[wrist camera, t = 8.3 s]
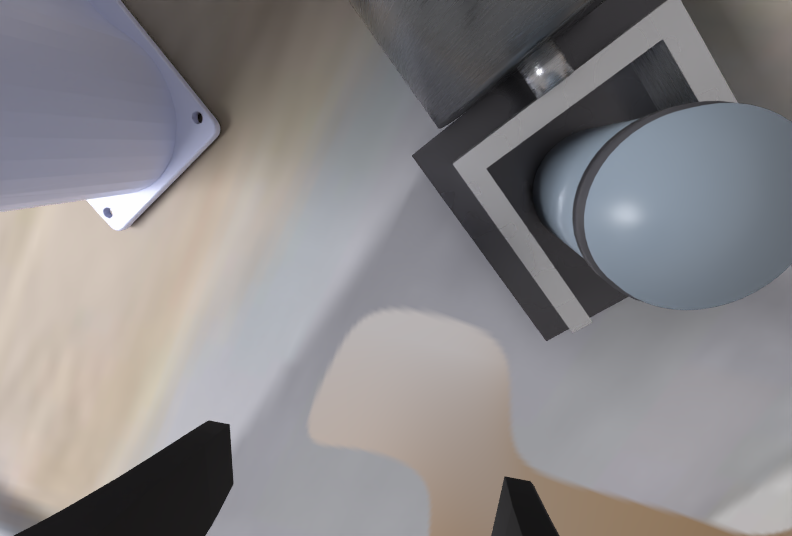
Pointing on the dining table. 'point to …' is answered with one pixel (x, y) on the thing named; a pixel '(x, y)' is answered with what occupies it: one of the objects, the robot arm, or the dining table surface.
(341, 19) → the dining table surface
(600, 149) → the banded grey cylinder
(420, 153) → the motor
